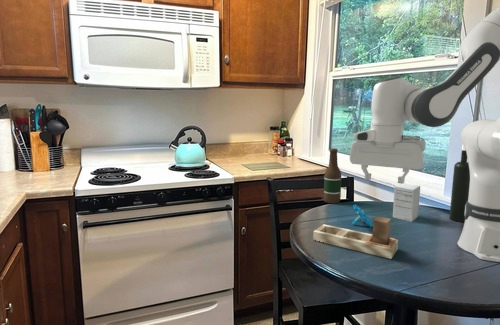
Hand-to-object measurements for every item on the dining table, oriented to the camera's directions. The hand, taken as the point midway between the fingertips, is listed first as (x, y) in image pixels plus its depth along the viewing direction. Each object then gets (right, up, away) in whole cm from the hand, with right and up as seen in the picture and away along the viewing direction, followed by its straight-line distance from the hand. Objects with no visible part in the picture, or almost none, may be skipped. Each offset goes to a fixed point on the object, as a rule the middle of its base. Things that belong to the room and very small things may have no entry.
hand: (384, 181), depth 102 cm
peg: (0, -21, +3) cm, 22 cm away
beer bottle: (-3, -12, +54) cm, 55 cm away
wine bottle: (+39, -16, +28) cm, 51 cm away
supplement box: (+21, -16, +32) cm, 41 cm away
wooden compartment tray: (-7, -21, +7) cm, 23 cm away
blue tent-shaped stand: (+2, -18, +24) cm, 30 cm away
